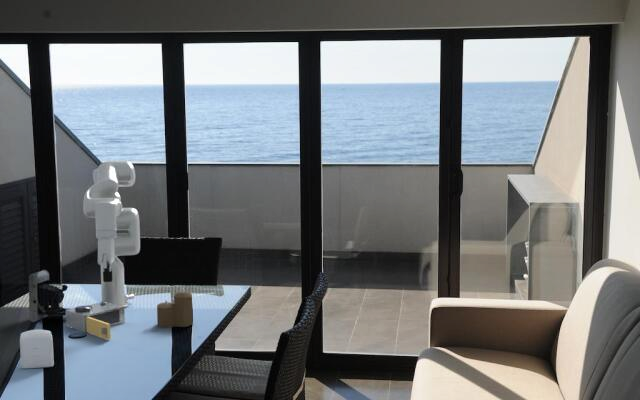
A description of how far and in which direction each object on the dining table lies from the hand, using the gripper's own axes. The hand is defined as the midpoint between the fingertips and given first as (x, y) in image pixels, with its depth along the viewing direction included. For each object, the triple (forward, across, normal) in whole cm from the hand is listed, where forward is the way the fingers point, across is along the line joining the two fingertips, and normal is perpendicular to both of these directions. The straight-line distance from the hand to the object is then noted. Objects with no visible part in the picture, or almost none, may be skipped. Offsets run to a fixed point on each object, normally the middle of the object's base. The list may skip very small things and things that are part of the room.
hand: (107, 281), depth 299 cm
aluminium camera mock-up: (+20, -10, -7) cm, 23 cm away
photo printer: (+19, +41, -16) cm, 48 cm away
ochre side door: (+19, +7, -4) cm, 21 cm away
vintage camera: (+20, -19, -25) cm, 38 cm away
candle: (+20, -8, +25) cm, 33 cm away
